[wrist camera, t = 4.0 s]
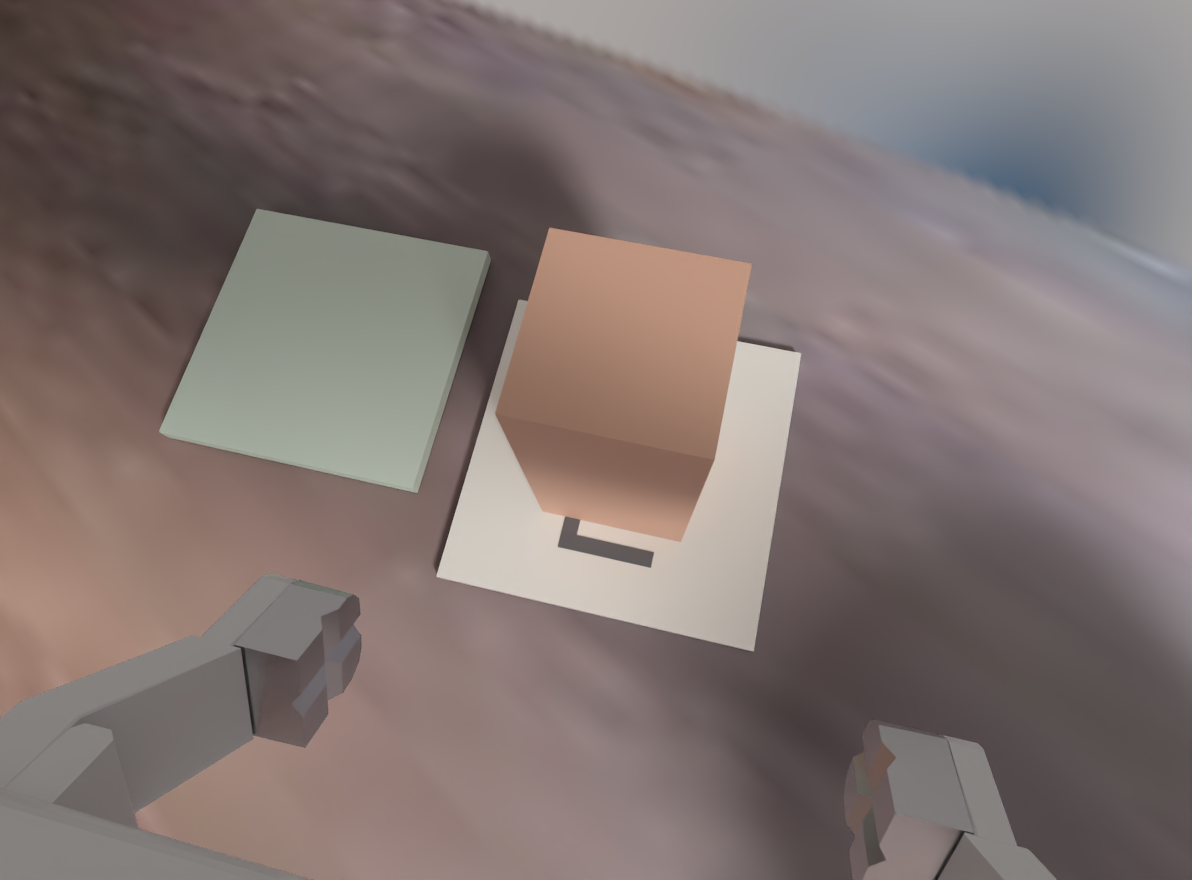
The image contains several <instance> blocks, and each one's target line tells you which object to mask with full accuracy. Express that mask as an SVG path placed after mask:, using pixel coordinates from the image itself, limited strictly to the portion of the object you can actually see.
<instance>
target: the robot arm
mask: <svg viewBox="0 0 1192 880" xmlns="http://www.w3.org/2000/svg"><path fill="white" fill-rule="evenodd" d="M359 616H360V603H359V598H358V597H356V596H355V595H353V594H350V593H346V592H342V591H338V590H335V589H331V588H327V587H323V586H320V585H316V584H312V583H308V582H305V581H301V580H295V579H291V578H287V577H284V576H280V575H276V574H273V573H270V574H268V575H265V576H262V577H261V578H260V579H259V580H258V581H257V582H256V583H255V584H254V585H253V586H252V587H251V588H250V589H249V590H248V591H247V592H246V593H245V594H244V595H243V596H242V597H241V598H240V599H239V600H238V601H237V602H236V603H235V604H234V605H233V606H232V607H231V608H230V609H229V610H228V611H227V612H226V613H225V614H224V615H223V616H222V617H221V618H219V619H218V620H217V621H216V622H215V623H214V624H213V625H212V626H211V627H210V628H209V629H208V630H207V631H206V632H205V633H204V634H203V635H202V636H201V637H195V636H189V637H187V638H184V639H181V640H179V641H176V642H174V643H171V644H169V645H166V646H163V647H161V648H158V649H156V650H153V651H150V652H148V653H145V654H143V655H140V656H137V657H135V658H132V659H130V660H127V661H125V662H122V663H119V664H117V665H114V666H112V667H109V668H106V669H104V670H101V671H99V672H96V673H93V674H91V675H88V676H86V677H83V678H81V679H78V680H75V681H73V682H70V683H68V684H65V685H62V686H60V687H57V688H55V689H52V690H49V691H47V692H44V693H42V694H39V695H37V696H34V697H31V698H29V699H26V700H24V701H21V702H19V703H18V704H17V705H16V706H15V707H14V708H12V709H11V710H10V711H9V712H8V713H6V714H5V715H4V716H3V717H2V718H0V880H312V879H309V878H306V877H302V876H299V875H295V874H292V873H289V872H285V871H282V870H278V869H275V868H272V867H268V866H265V865H261V864H258V863H255V862H251V861H248V860H244V859H241V858H237V857H234V856H231V855H227V854H224V853H220V852H217V851H214V850H210V849H207V848H203V847H200V846H196V845H193V844H190V843H186V842H183V841H179V840H176V839H173V838H169V837H166V836H162V835H159V834H155V833H152V832H149V831H145V830H142V829H139V827H138V824H137V820H136V816H135V813H136V812H137V811H139V810H140V809H142V808H144V807H145V806H147V805H148V804H150V803H151V802H153V801H155V800H156V799H158V798H159V797H161V796H163V795H164V794H166V793H167V792H169V791H171V790H172V789H174V788H175V787H177V786H179V785H180V784H182V783H183V782H185V781H187V780H188V779H190V778H191V777H193V776H195V775H196V774H198V773H199V772H201V771H203V770H204V769H206V768H207V767H209V766H211V765H212V764H214V763H215V762H217V761H219V760H220V759H222V758H223V757H225V756H227V755H228V754H230V753H231V752H233V751H235V750H236V749H238V748H239V747H241V746H243V745H244V744H246V743H247V742H249V741H251V740H252V739H253V736H257V737H262V738H266V739H270V740H274V741H279V742H283V743H287V744H291V745H295V746H300V747H304V748H305V747H306V746H307V745H308V743H309V742H310V740H311V739H312V737H313V736H314V734H315V733H316V731H317V730H318V729H319V727H320V726H321V724H322V723H323V721H324V720H325V718H326V717H327V715H328V700H329V699H331V698H333V697H335V696H337V695H339V694H341V693H343V692H344V690H345V689H346V687H347V686H348V684H349V683H350V681H351V679H352V678H353V675H354V673H355V670H356V667H357V665H358V662H359V659H360V653H361V634H360V633H359V632H358V630H357V629H356V627H355V626H354V625H353V624H354V622H355V621H356V620H357V618H358V617H359ZM862 741H863V748H864V752H862V753H860V754H858V755H856V756H854V757H853V758H852V761H851V764H850V766H849V769H848V772H847V776H846V782H845V788H844V813H845V822H846V824H847V825H848V827H849V828H850V829H851V831H852V832H853V833H854V835H855V839H854V841H853V843H852V845H851V848H850V850H849V856H850V864H851V872H852V880H1057V879H1056V878H1055V877H1054V876H1053V875H1052V874H1051V873H1050V871H1049V870H1048V869H1047V868H1046V867H1045V866H1044V865H1043V864H1042V863H1041V862H1040V861H1039V860H1038V859H1037V858H1036V857H1035V855H1034V854H1033V853H1032V852H1031V851H1030V850H1029V849H1026V848H1023V847H1019V846H1017V843H1016V841H1015V838H1014V835H1013V832H1012V829H1011V826H1010V823H1009V820H1008V818H1007V815H1006V812H1005V809H1004V806H1003V803H1002V800H1001V797H1000V795H999V792H998V789H997V786H996V783H995V780H994V777H993V774H992V772H991V769H990V766H989V763H988V760H987V757H986V754H985V751H984V749H983V748H982V747H981V746H980V745H979V743H975V742H971V741H967V740H962V739H958V738H953V737H949V736H945V735H942V736H940V735H939V734H935V733H931V732H926V731H922V730H918V729H913V728H909V727H905V726H900V725H896V724H892V723H888V722H883V721H879V720H875V719H872V720H871V721H870V722H869V723H868V724H867V726H866V728H865V730H864V733H863V735H862Z"/></svg>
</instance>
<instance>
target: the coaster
mask: <svg viewBox="0 0 1192 880" xmlns="http://www.w3.org/2000/svg"><path fill="white" fill-rule="evenodd" d="M490 262H491V259H490V256H489V253H488V251H484V250H478V249H473V248H467V247H462V246H456V245H451V244H446V243H440V242H435V241H429V240H424V239H418V238H413V237H408V236H402V235H397V234H391V233H386V232H381V231H375V230H370V229H364V228H359V227H353V226H348V225H343V224H337V223H332V222H326V221H321V220H315V219H310V218H305V217H299V216H294V215H288V214H283V213H277V212H272V211H267V210H261V209H256V212H255V214H254V216H253V218H252V221H251V223H250V225H249V228H248V230H247V232H246V234H245V237H244V239H243V241H242V243H241V246H240V248H239V250H238V253H237V255H236V257H235V259H234V262H233V264H232V266H231V269H230V271H229V273H228V275H227V278H226V280H225V282H224V284H223V287H222V289H221V291H220V294H219V296H218V298H217V300H216V303H215V305H214V307H213V309H212V312H211V314H210V316H209V319H208V321H207V323H206V325H205V328H204V330H203V332H202V334H201V337H200V339H199V341H198V344H197V346H196V348H195V350H194V353H193V355H192V357H191V359H190V362H189V364H188V366H187V369H186V371H185V373H184V375H183V378H182V380H181V382H180V384H179V387H178V389H177V391H176V394H175V396H174V398H173V400H172V403H171V405H170V407H169V409H168V412H167V414H166V416H165V419H164V421H163V423H162V425H161V428H160V430H159V432H160V433H162V434H163V435H165V436H167V437H169V438H173V439H178V440H182V441H187V442H191V443H196V444H200V445H204V446H209V447H213V448H218V449H222V450H227V451H231V452H236V453H240V454H245V455H249V456H254V457H258V458H263V459H267V460H272V461H276V462H281V463H285V464H289V465H294V466H298V467H303V468H307V469H312V470H316V471H321V472H325V473H330V474H334V475H339V476H343V477H348V478H352V479H357V480H361V481H365V482H370V483H374V484H379V485H383V486H388V487H392V488H397V489H401V490H406V491H410V492H415V493H418V490H419V487H420V484H421V481H422V477H423V474H424V471H425V468H426V465H427V462H428V458H429V455H430V452H431V449H432V446H433V443H434V439H435V436H436V433H437V430H438V427H439V424H440V420H441V417H442V414H443V411H444V408H445V405H446V401H447V398H448V395H449V392H450V389H451V386H452V382H453V379H454V376H455V373H456V370H457V367H458V363H459V360H460V357H461V354H462V351H463V348H464V344H465V341H466V338H467V335H468V332H469V329H470V325H471V322H472V319H473V316H474V313H475V310H476V307H477V303H478V300H479V297H480V294H481V291H482V288H483V284H484V281H485V278H486V275H487V272H488V269H489V265H490Z"/></svg>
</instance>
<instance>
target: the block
mask: <svg viewBox="0 0 1192 880" xmlns="http://www.w3.org/2000/svg"><path fill="white" fill-rule="evenodd" d="M751 266H752V264H750V263H745V262H739V261H733V260H728V259H722V258H717V257H711V256H705V255H700V254H694V253H689V252H683V251H678V250H672V249H666V248H661V247H655V246H650V245H644V244H638V243H633V242H627V241H622V240H616V239H611V238H605V237H599V236H594V235H588V234H583V233H577V232H571V231H566V230H560V229H555V228H549V231H548V234H547V238H546V241H545V245H544V248H543V251H542V255H541V258H540V262H539V265H538V268H537V272H536V275H535V279H534V282H533V286H532V289H531V292H530V296H529V299H528V303H527V306H526V309H525V313H524V316H523V320H522V323H521V327H520V330H519V333H518V337H517V340H516V344H515V347H514V350H513V354H512V357H511V361H510V364H509V368H508V371H507V374H506V378H505V381H504V385H503V388H502V391H501V395H500V398H499V402H498V405H497V409H496V412H495V415H496V417H497V419H498V421H499V423H500V425H501V427H502V429H503V431H504V434H505V436H506V438H507V440H508V442H509V444H510V446H511V448H512V450H513V452H514V454H515V456H516V458H517V460H518V462H519V464H520V466H521V468H522V470H523V472H524V474H525V476H526V478H527V481H528V483H529V485H530V487H531V489H532V491H533V493H534V495H535V497H536V499H537V501H538V503H539V505H540V507H541V509H542V511H543V512H548V513H552V514H557V515H561V516H566V517H570V518H575V519H579V520H584V521H588V522H593V523H597V524H602V525H606V526H611V527H615V528H620V529H624V530H629V531H633V532H638V533H642V534H647V535H651V536H656V537H660V538H665V539H669V540H674V541H678V542H681V540H682V538H683V535H684V533H685V531H686V528H687V526H688V523H689V521H690V518H691V516H692V514H693V511H694V509H695V506H696V504H697V501H698V499H699V497H700V494H701V492H702V489H703V487H704V484H705V482H706V480H707V477H708V475H709V472H710V470H711V467H712V465H713V463H714V460H715V455H716V450H717V445H718V440H719V434H720V429H721V424H722V419H723V413H724V408H725V403H726V397H727V392H728V387H729V382H730V376H731V371H732V366H733V361H734V355H735V350H736V345H737V340H738V334H739V329H740V324H741V319H742V313H743V308H744V303H745V298H746V292H747V287H748V282H749V277H750V271H751Z"/></svg>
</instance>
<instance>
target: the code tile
mask: <svg viewBox="0 0 1192 880" xmlns="http://www.w3.org/2000/svg"><path fill="white" fill-rule="evenodd" d="M527 303H528V301H524V300H518V303H517V307H516V310H515V313H514V317H513V320H512V323H511V327H510V330H509V334H508V337H507V340H506V344H505V347H504V350H503V354H502V357H501V360H500V364H499V367H498V371H497V374H496V377H495V381H494V384H493V387H492V391H491V394H490V397H489V401H488V404H487V408H486V411H485V414H484V418H483V421H482V424H481V428H480V431H479V434H478V438H477V441H476V445H475V448H474V451H473V455H472V458H471V461H470V465H469V468H468V471H467V475H466V478H465V482H464V485H463V488H462V492H461V495H460V498H459V502H458V505H457V508H456V512H455V515H454V519H453V522H452V525H451V529H450V532H449V535H448V539H447V542H446V546H445V549H444V552H443V556H442V559H441V562H440V566H439V569H438V572H437V576H436V577H438V578H442V579H446V580H450V581H454V582H458V583H463V584H467V585H471V586H475V587H480V588H484V589H488V590H492V591H497V592H501V593H505V594H509V595H514V596H518V597H522V598H526V599H531V600H535V601H539V602H543V603H547V604H552V605H556V606H560V607H564V608H569V609H573V610H577V611H581V612H586V613H590V614H594V615H598V616H603V617H607V618H611V619H615V620H620V621H624V622H628V623H632V624H636V625H641V626H645V627H649V628H653V629H658V630H662V631H666V632H670V633H675V634H679V635H683V636H687V637H692V638H696V639H700V640H704V641H709V642H713V643H717V644H721V645H725V646H730V647H734V648H738V649H742V650H747V651H751V652H753V651H754V646H755V640H756V634H757V627H758V621H759V615H760V609H761V602H762V596H763V590H764V584H765V577H766V571H767V565H768V559H769V552H770V546H771V540H772V534H773V527H774V521H775V515H776V508H777V502H778V496H779V490H780V483H781V477H782V471H783V465H784V458H785V452H786V446H787V440H788V433H789V427H790V421H791V415H792V408H793V402H794V396H795V389H796V383H797V377H798V371H799V364H800V358H801V353H797V352H791V351H786V350H781V349H776V348H770V347H765V346H760V345H755V344H749V343H744V342H739V341H737V345H736V350H735V355H734V361H733V366H732V371H731V376H730V382H729V387H728V392H727V397H726V403H725V408H724V413H723V419H722V424H721V429H720V434H719V440H718V445H717V450H716V455H715V460H714V463H713V465H712V467H711V470H710V472H709V475H708V477H707V480H706V482H705V484H704V487H703V489H702V492H701V494H700V497H699V499H698V501H697V504H696V506H695V509H694V511H693V514H692V516H691V518H690V521H689V523H688V526H687V528H686V531H685V533H684V535H683V538H682V540H681V542H678V541H674V540H669V539H665V538H660V537H656V536H651V535H647V534H642V533H638V532H633V531H629V530H624V529H620V528H615V527H611V526H606V525H602V524H597V523H593V522H588V521H584V520H579V519H575V518H570V517H566V516H561V515H557V514H552V513H548V512H543V511H542V509H541V507H540V505H539V503H538V501H537V499H536V497H535V495H534V493H533V491H532V489H531V487H530V485H529V483H528V481H527V478H526V476H525V474H524V472H523V470H522V468H521V466H520V464H519V462H518V460H517V458H516V456H515V454H514V452H513V450H512V448H511V446H510V444H509V442H508V440H507V438H506V436H505V434H504V431H503V429H502V427H501V425H500V423H499V421H498V419H497V417H496V415H495V412H496V409H497V405H498V402H499V398H500V395H501V391H502V388H503V385H504V381H505V378H506V374H507V371H508V368H509V364H510V361H511V357H512V354H513V350H514V347H515V344H516V340H517V337H518V333H519V330H520V327H521V323H522V320H523V316H524V313H525V309H526V306H527Z"/></svg>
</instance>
